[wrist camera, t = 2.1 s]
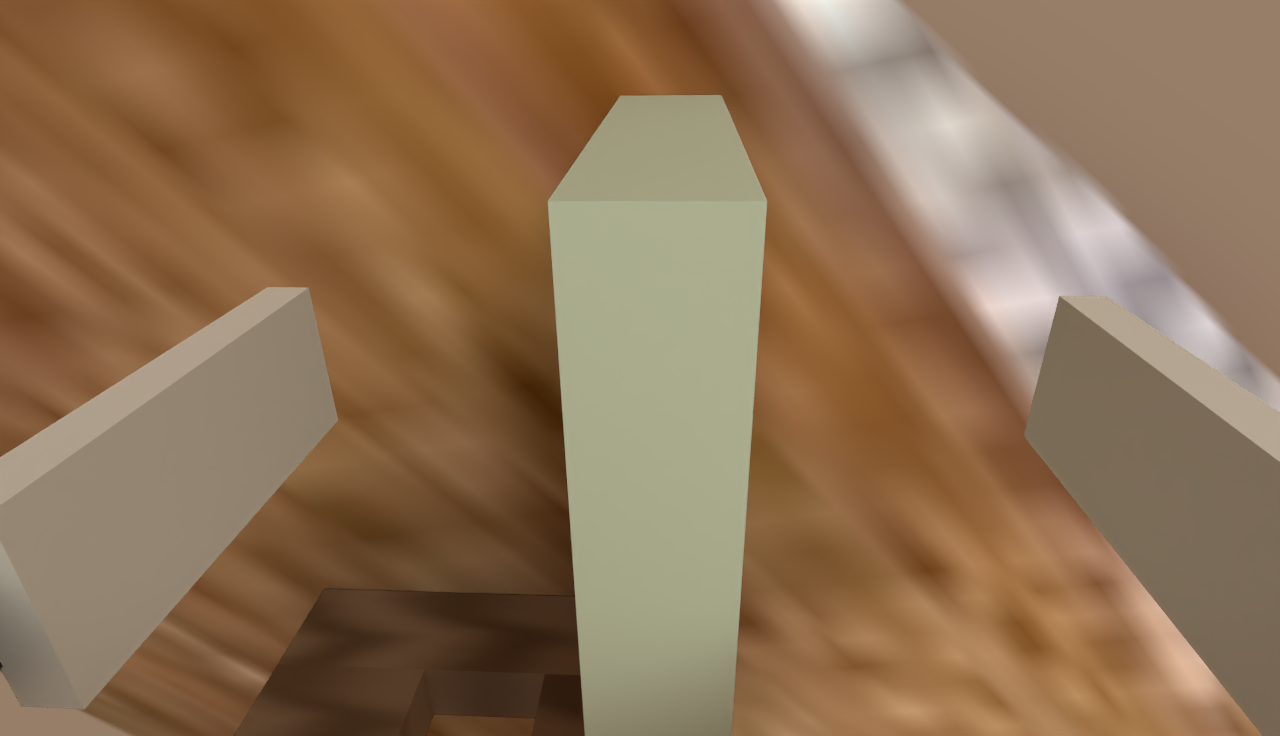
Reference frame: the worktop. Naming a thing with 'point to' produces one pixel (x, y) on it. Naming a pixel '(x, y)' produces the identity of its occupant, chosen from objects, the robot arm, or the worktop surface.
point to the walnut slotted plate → (424, 665)
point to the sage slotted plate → (658, 407)
